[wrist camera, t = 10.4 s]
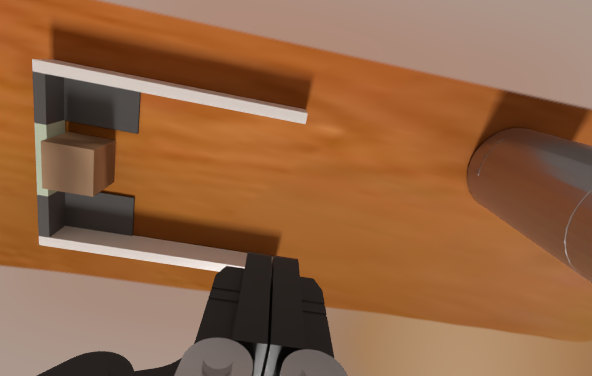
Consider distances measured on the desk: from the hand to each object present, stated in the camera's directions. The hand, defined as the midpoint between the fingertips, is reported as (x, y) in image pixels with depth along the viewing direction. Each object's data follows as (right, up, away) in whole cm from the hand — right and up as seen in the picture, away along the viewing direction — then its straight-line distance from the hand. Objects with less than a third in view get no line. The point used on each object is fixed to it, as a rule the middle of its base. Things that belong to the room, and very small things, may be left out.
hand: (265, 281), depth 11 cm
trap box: (-12, +4, +27) cm, 29 cm away
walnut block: (-20, +6, +26) cm, 33 cm away
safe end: (-23, +6, +25) cm, 35 cm away
